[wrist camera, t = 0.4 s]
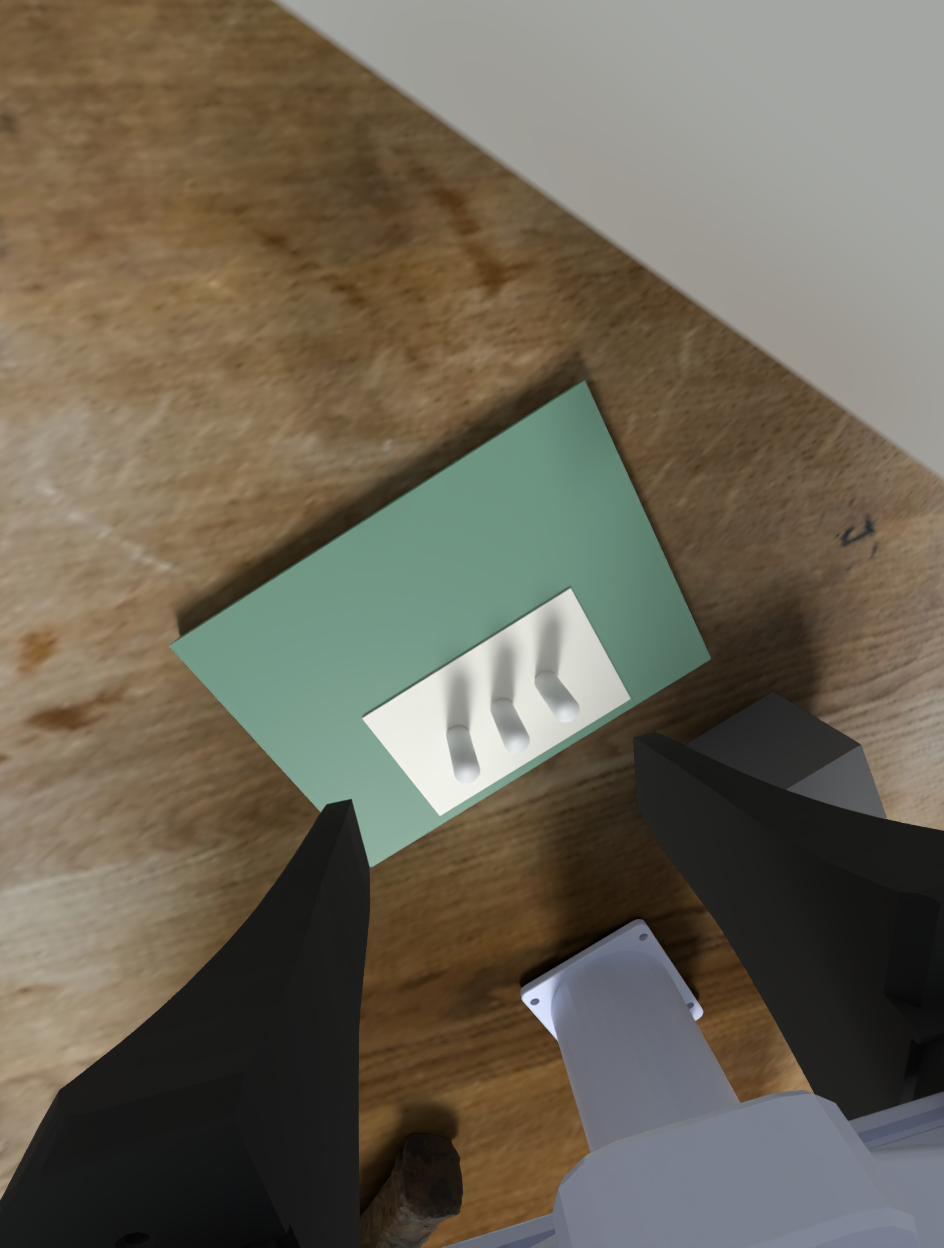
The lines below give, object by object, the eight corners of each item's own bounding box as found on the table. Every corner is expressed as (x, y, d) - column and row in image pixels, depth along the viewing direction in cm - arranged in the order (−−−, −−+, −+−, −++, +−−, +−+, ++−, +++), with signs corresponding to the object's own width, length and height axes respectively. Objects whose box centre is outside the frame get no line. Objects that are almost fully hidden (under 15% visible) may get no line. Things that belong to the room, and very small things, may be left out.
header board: (698, 650, 24) (753, 685, 20) (371, 851, 24) (369, 919, 21) (575, 384, 19) (618, 367, 16) (179, 636, 20) (133, 676, 16)
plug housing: (798, 754, 27) (886, 817, 22) (682, 823, 27) (745, 900, 22) (772, 691, 25) (860, 744, 20) (650, 765, 25) (710, 834, 21)
